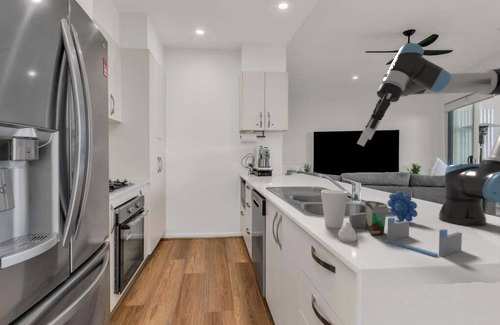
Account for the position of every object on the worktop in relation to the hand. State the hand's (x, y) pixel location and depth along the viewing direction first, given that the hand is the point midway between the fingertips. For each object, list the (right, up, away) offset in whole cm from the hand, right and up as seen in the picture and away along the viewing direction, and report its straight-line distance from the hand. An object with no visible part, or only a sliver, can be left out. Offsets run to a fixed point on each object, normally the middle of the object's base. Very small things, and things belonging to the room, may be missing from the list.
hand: (363, 141), depth 96 cm
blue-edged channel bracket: (+9, -32, -7) cm, 34 cm away
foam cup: (-8, -31, +8) cm, 33 cm away
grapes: (+21, -31, +15) cm, 41 cm away
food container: (+5, -32, 0) cm, 32 cm away
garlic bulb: (-9, -32, -9) cm, 34 cm away
